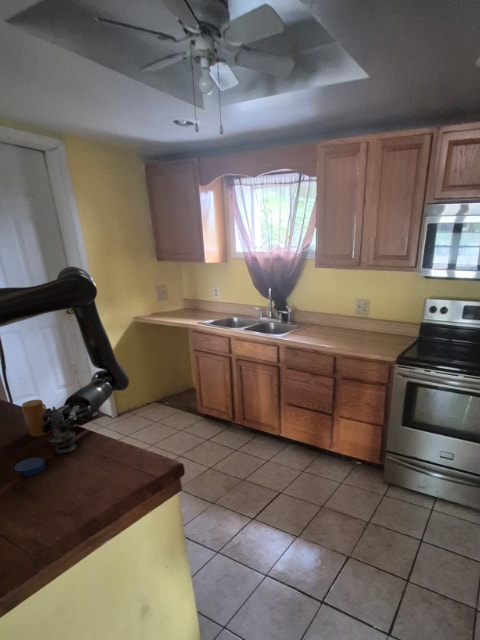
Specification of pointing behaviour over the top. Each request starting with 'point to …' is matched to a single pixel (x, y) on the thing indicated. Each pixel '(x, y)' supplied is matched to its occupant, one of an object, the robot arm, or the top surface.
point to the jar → (34, 416)
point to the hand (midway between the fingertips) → (52, 429)
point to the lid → (30, 466)
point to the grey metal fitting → (60, 439)
